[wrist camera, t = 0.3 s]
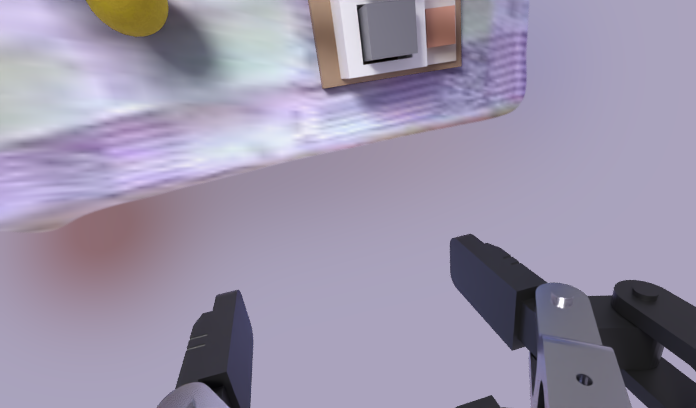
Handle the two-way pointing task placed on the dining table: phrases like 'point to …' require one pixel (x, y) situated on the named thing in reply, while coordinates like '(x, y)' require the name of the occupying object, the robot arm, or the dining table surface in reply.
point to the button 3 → (388, 29)
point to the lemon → (131, 15)
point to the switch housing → (349, 43)
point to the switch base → (440, 55)
